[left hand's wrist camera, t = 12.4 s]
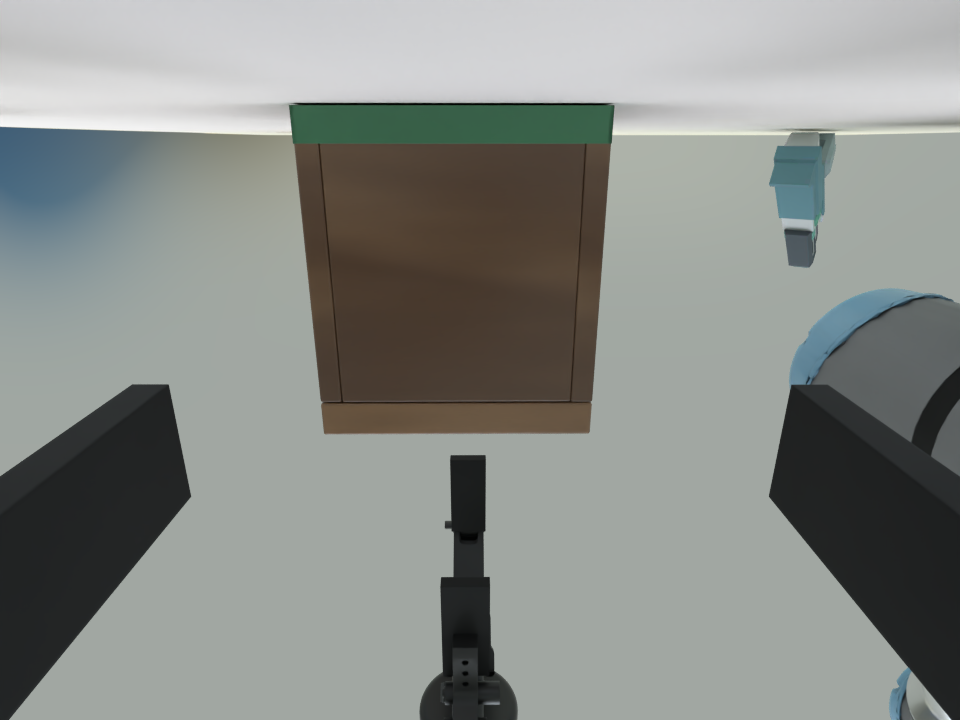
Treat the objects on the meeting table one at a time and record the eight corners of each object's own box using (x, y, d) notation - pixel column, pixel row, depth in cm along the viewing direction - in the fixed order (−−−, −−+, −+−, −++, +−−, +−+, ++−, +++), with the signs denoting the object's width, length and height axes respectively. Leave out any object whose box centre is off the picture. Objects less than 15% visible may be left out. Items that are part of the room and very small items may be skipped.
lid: (541, 289, 37) (536, 409, 40) (387, 289, 37) (394, 409, 40) (592, 403, 21) (578, 590, 24) (320, 404, 21) (340, 591, 24)
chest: (549, 122, 33) (543, 292, 36) (375, 122, 32) (385, 292, 36) (614, 105, 17) (592, 402, 21) (288, 104, 17) (320, 403, 21)
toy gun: (802, 193, 68) (779, 272, 66) (794, 80, 52) (765, 182, 50) (838, 195, 66) (816, 277, 64) (842, 78, 50) (812, 183, 48)
